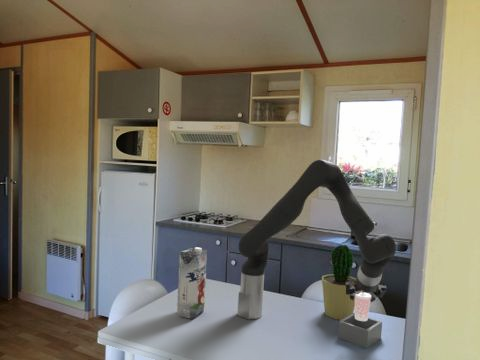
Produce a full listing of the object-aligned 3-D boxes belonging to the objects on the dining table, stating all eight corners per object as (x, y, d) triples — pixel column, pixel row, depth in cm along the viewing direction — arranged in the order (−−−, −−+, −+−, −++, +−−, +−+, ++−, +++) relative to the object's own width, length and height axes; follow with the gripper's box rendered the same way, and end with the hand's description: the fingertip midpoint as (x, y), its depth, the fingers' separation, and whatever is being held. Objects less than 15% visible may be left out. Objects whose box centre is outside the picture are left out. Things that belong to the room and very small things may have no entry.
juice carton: (173, 316, 154) (177, 248, 153) (187, 307, 164) (190, 243, 162) (194, 321, 151) (197, 251, 149) (206, 311, 160) (209, 246, 159)
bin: (366, 348, 136) (368, 331, 135) (337, 337, 143) (339, 321, 143) (381, 337, 145) (382, 321, 144) (353, 328, 152) (354, 312, 152)
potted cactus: (353, 309, 172) (358, 241, 171) (361, 323, 157) (366, 249, 155) (317, 306, 174) (322, 238, 172) (321, 320, 158) (326, 246, 157)
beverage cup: (367, 323, 139) (370, 284, 139) (350, 319, 142) (352, 280, 142) (371, 318, 144) (374, 280, 144) (355, 314, 148) (357, 277, 147)
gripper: (390, 267, 134) (381, 291, 146) (346, 264, 136) (341, 287, 148) (392, 288, 129) (383, 310, 141) (347, 283, 131) (341, 306, 143)
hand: (361, 298), depth 145 cm, fingers closed on beverage cup, 6 cm apart
